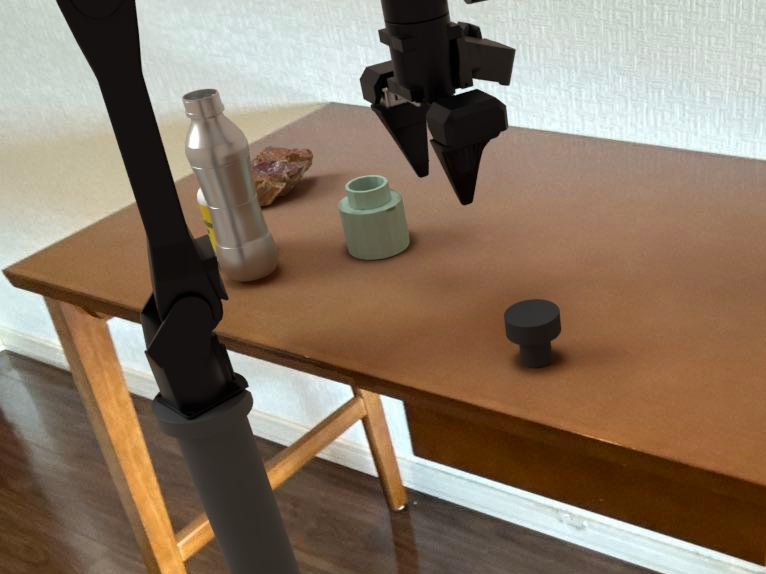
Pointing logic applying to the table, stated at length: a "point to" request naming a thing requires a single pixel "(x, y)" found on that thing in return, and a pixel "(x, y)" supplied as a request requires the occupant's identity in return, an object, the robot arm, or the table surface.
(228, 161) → the plastic bottle
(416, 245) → the table surface
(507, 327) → the stopper
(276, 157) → the mineral specimen
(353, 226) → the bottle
